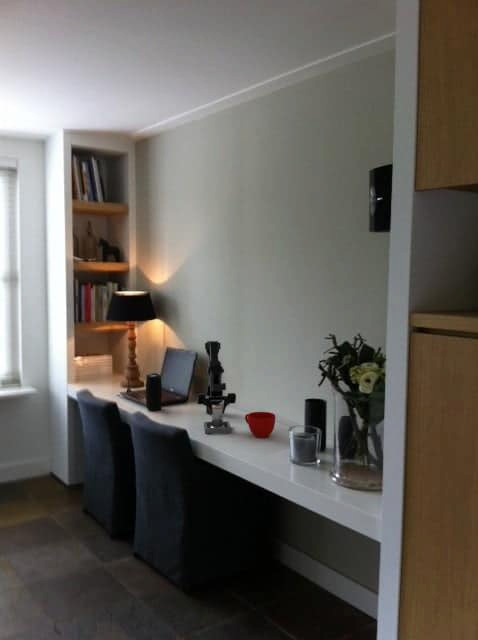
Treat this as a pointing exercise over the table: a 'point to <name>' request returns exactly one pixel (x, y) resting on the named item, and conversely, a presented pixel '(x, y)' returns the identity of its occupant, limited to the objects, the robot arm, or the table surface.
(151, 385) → the portable speaker
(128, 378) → the eiffel tower figurine
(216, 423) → the grey cylinder
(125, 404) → the table surface
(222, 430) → the duct collar
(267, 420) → the ceramic cup
